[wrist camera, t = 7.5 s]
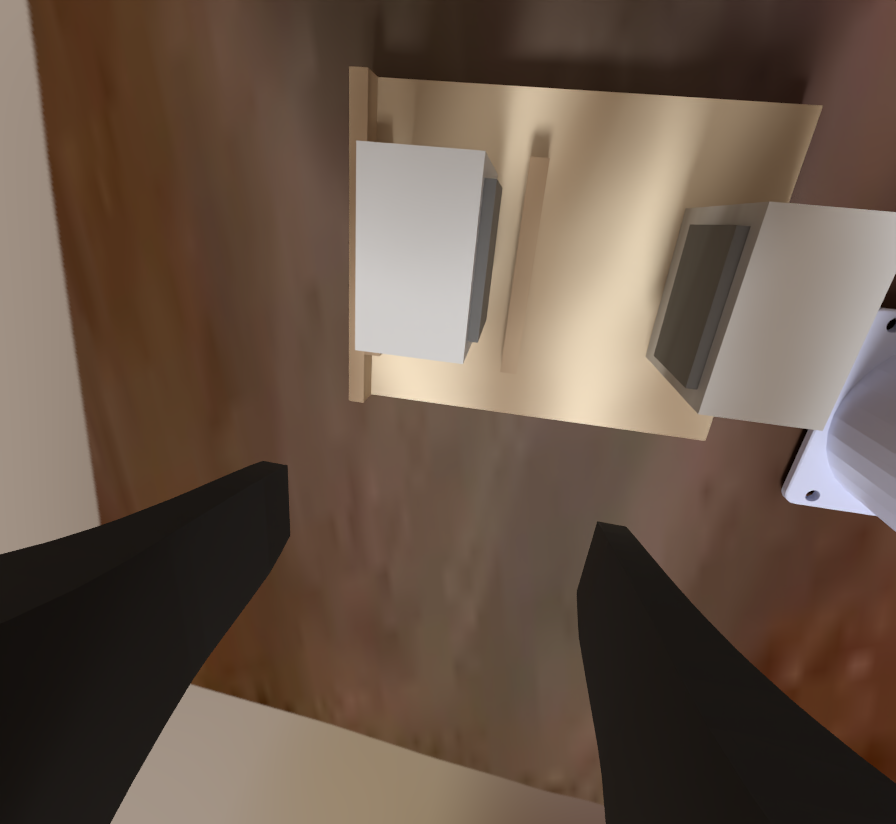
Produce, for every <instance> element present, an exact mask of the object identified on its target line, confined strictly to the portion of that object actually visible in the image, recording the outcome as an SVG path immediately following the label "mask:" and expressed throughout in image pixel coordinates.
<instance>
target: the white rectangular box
mask: <svg viewBox="0 0 896 824" xmlns="http://www.w3.org/2000/svg"><path fill="white" fill-rule="evenodd" d="M497 177H498V174H497V172H496V170H495V168H494V166H493V164H492V162H491V160H490V159H489V157H488V155H487V153H486V151H481V150H469V149H456V148H444V147H431V146H419V145H406V144H394V143H381V142H369V141H356V273H355V350H358V351H366V352H373V353H381V354H389V355H396V356H404V357H412V358H419V359H427V360H435V361H442V362H450V363H458V364H463V363H464V361H465V358H466V356H467V353H468V351H469V349H470V346H471V344H472V342H475V343H478V341H479V339H480V336H481V333H482V330H483V328H484V325H485V322H486V320H487V312H488V303H489V295H490V287H491V279H492V270H493V262H494V254H495V246H496V238H497V229H498V221H499V213H500V205H501V197H502V186H501V185H500V183H499V181H498V180H497Z"/></svg>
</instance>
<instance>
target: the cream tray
mask: <svg viewBox="0 0 896 824" xmlns="http://www.w3.org/2000/svg"><path fill="white" fill-rule="evenodd" d="M822 107H823V106H821V105H805V104H789V103H774V102H758V101H743V100H727V99H712V98H696V97H680V96H665V95H649V94H634V93H618V92H603V91H587V90H571V89H556V88H540V87H525V86H509V85H494V84H478V83H462V82H447V81H431V80H416V79H400V78H385V77H377V76H376V75H375V74H374V73H373V72H372V71H371V70H370V69H369V68H368V67H353V66H349V401H355V402H362V403H364V402H365V400H366V399H367V398H368V397H369V396H370V395H371V394H375V395H382V396H389V397H396V398H403V399H410V400H417V401H425V402H432V403H439V404H446V405H453V406H460V407H467V408H475V409H482V410H489V411H496V412H503V413H510V414H518V415H525V416H532V417H539V418H546V419H553V420H560V421H568V422H575V423H582V424H589V425H596V426H603V427H610V428H618V429H625V430H632V431H639V432H646V433H653V434H661V435H668V436H675V437H682V438H689V439H696V440H703V441H705V439H706V437H707V434H708V431H709V428H710V425H711V422H712V420H713V417H714V416H715V417H722V418H730V419H737V420H745V421H752V422H760V423H767V424H774V425H782V426H789V427H797V428H804V429H812V430H819V431H823V429H824V427H825V425H826V423H827V420H828V418H829V416H830V414H831V412H832V410H833V408H834V405H835V403H836V401H837V399H838V397H839V395H840V392H841V390H842V388H843V386H844V384H845V382H846V379H847V377H848V375H849V373H850V371H851V369H852V367H853V364H854V362H855V360H856V358H857V356H858V354H859V351H860V349H861V347H862V345H863V343H864V341H865V338H866V336H867V334H868V332H869V330H870V328H871V326H872V323H873V321H874V319H875V317H876V315H877V313H878V310H879V308H880V306H881V304H882V302H883V300H884V297H885V295H886V293H887V291H888V289H889V287H890V285H891V282H892V280H893V278H894V276H895V274H896V212H887V211H875V210H863V209H852V208H840V207H828V206H817V205H805V204H793V203H789V201H790V198H791V195H792V192H793V189H794V187H795V184H796V181H797V178H798V175H799V172H800V169H801V167H802V164H803V161H804V158H805V155H806V152H807V150H808V147H809V144H810V141H811V138H812V135H813V133H814V130H815V127H816V124H817V121H818V118H819V115H820V113H821V110H822ZM356 141H369V142H381V143H394V144H406V145H419V146H431V147H444V148H456V149H469V150H481V151H486V153H487V155H488V157H489V159H490V160H491V162H492V164H493V166H494V168H495V170H496V172H497V174H498V177H497V180H498V181H499V183H500V185H501V186H502V197H501V205H500V213H499V221H498V229H497V238H496V246H495V254H494V262H493V270H492V279H491V287H490V295H489V303H488V312H487V320H486V322H485V325H484V328H483V330H482V333H481V336H480V339H479V341H478V343H475V342H472V344H471V346H470V349H469V351H468V353H467V356H466V358H465V361H464V363H463V364H458V363H450V362H442V361H435V360H427V359H419V358H412V357H404V356H396V355H389V354H381V353H373V352H366V351H358V350H355V273H356Z"/></svg>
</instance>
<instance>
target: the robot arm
mask: <svg viewBox="0 0 896 824" xmlns="http://www.w3.org/2000/svg"><path fill="white" fill-rule="evenodd" d="M894 318H895V319H896V309H889V308H879V310H878V313H877V315H876V317H875V319H874V321H873V323H872V326H871V328H870V330H869V332H868V334H867V336H866V338H865V341H864V343H863V345H862V347H861V349H860V351H859V354H858V356H857V358H856V360H855V362H854V364H853V367H852V369H851V371H850V373H849V375H848V377H847V379H846V382H845V384H844V386H843V388H842V390H841V392H840V395H839V397H838V399H837V401H836V403H835V405H834V408H833V410H832V412H831V414H830V416H829V418H828V420H827V423H826V425H825V427H824V429H823V431H819V430H812V429H808V431H807V433H806V435H805V438H804V440H803V442H802V444H801V447H800V449H799V451H798V453H797V455H796V458H795V460H794V462H793V464H792V467H791V469H790V471H789V473H788V476H787V478H786V480H785V482H784V484H783V487H782V491H781V492H782V495H783V496H784V497H785V498H786V499H787V500H788V501H789V502H791V503H794V504H801V505H807V506H814V507H820V508H827V509H834V510H840V511H847V512H854V513H860V514H867V515H874V516H878V517H879V518H880V519H881V520H882V521H884V522H885V523H886V524H887V525H888V526H890V527H891V528H892V529H893V530H894V531H896V323H895V325H894V326H893V327H892V328H891V329H889V330H887V329H886V327H887V324H888V322H889V321H890V320H892V319H894ZM813 490H814V492H813V494H811V495H809V496H806V494H807V493H808V492H810V491H813ZM289 537H290V519H289V494H288V468H287V465H282V464H277V463H271V462H266V461H262V462H259V463H256V464H253V465H250V466H248V467H245V468H243V469H240V470H238V471H236V472H233V473H231V474H229V475H226V476H224V477H222V478H219V479H217V480H215V481H212V482H210V483H208V484H205V485H203V486H201V487H198V488H196V489H194V490H191V491H189V492H187V493H184V494H182V495H179V496H177V497H175V498H172V499H170V500H167V501H165V502H162V503H159V504H157V505H154V506H152V507H149V508H147V509H144V510H141V511H139V512H136V513H134V514H131V515H129V516H126V517H123V518H121V519H118V520H115V521H112V522H109V523H106V524H104V525H101V526H98V527H95V528H92V529H89V530H85V531H82V532H79V533H76V534H73V535H70V536H66V537H63V538H60V539H57V540H53V541H50V542H46V543H43V544H39V545H35V546H31V547H27V548H23V549H20V550H16V551H12V552H8V553H4V554H0V824H110V823H111V821H112V819H113V817H114V815H115V814H116V812H117V810H118V808H119V806H120V804H121V802H122V801H123V799H124V797H125V795H126V793H127V791H128V789H129V787H130V786H131V784H132V782H133V780H134V779H135V777H136V775H137V773H138V772H139V770H140V768H141V766H142V765H143V763H144V761H145V760H146V758H147V756H148V754H149V752H150V751H151V749H152V747H153V746H154V744H155V742H156V740H157V739H158V737H159V735H160V733H161V732H162V730H163V728H164V726H165V725H166V723H167V721H168V720H169V718H170V716H171V715H172V713H173V711H174V710H175V708H176V707H177V705H178V703H179V702H180V700H181V698H182V697H183V695H184V693H185V692H186V690H187V688H188V686H189V685H190V683H191V682H192V680H193V678H194V677H195V676H196V674H197V673H198V671H199V670H200V668H201V667H202V665H203V664H204V662H205V661H206V659H207V658H208V657H209V655H210V654H211V652H212V651H213V650H214V648H215V647H216V646H217V644H218V643H219V642H220V640H221V639H222V638H223V636H224V635H225V633H226V632H227V631H228V629H229V628H230V627H231V625H232V624H233V623H234V621H235V620H236V619H237V617H238V616H239V614H240V613H241V612H242V610H243V609H244V608H245V606H246V605H247V604H248V602H249V601H250V600H251V598H252V597H253V595H254V594H255V593H256V591H257V590H258V588H259V587H260V586H261V584H262V583H263V582H264V580H265V579H266V577H267V576H268V574H269V573H270V571H271V570H272V568H273V566H274V564H275V563H276V561H277V559H278V557H279V556H280V554H281V552H282V550H283V548H284V546H285V544H286V542H287V540H288V538H289ZM577 612H578V630H579V640H580V647H581V653H582V658H583V664H584V670H585V676H586V682H587V688H588V693H589V699H590V705H591V710H592V716H593V722H594V727H595V733H596V739H597V745H598V751H599V758H600V766H601V773H602V784H603V796H604V807H605V819H606V824H896V783H894V782H893V781H892V780H890V779H889V778H888V777H886V776H885V775H884V774H883V773H881V772H880V771H879V770H877V769H876V768H875V767H873V766H872V765H871V764H869V763H868V762H867V761H866V760H864V759H863V758H862V757H860V756H859V755H858V754H857V753H855V752H854V751H853V750H852V749H850V748H849V747H848V746H847V745H846V744H844V743H843V742H842V741H841V740H839V739H838V738H837V737H836V736H834V735H833V734H832V733H831V732H830V731H828V730H827V729H826V728H825V727H823V726H822V725H821V724H820V723H818V722H817V721H816V720H815V719H813V718H812V717H811V716H810V715H809V714H808V713H806V712H805V711H804V710H803V709H802V708H800V707H799V706H798V705H797V704H796V703H795V702H793V701H792V700H791V699H790V698H789V697H788V696H787V695H785V694H784V693H783V692H782V691H781V690H780V689H779V688H778V687H777V686H776V685H774V684H773V683H772V682H771V681H770V680H769V679H768V678H767V677H766V676H765V675H763V674H762V673H761V672H760V671H759V670H758V669H757V668H756V667H755V666H753V665H752V664H751V663H750V662H749V661H748V660H747V659H746V658H745V657H744V656H743V655H742V654H741V653H740V652H739V651H738V650H737V649H736V648H735V647H734V646H733V645H732V644H731V643H730V642H729V641H728V640H727V639H726V638H725V637H724V636H723V635H722V634H721V633H720V632H719V631H718V630H717V629H716V628H715V627H714V626H713V625H712V624H711V623H710V622H709V621H708V620H707V619H706V618H705V617H704V616H703V615H702V613H701V612H700V611H699V610H698V609H697V608H696V607H695V606H694V605H693V604H692V603H691V602H690V600H689V599H688V598H687V597H686V596H685V595H684V594H683V593H682V591H681V590H680V589H679V588H678V587H677V586H676V585H675V584H674V582H673V581H672V580H671V579H670V578H669V577H668V575H667V574H666V573H665V572H664V571H663V570H662V568H661V567H660V566H659V565H658V564H657V563H656V561H655V560H654V559H653V558H652V557H651V555H650V554H649V553H648V552H647V551H646V549H645V548H644V547H643V546H642V545H641V543H640V542H639V541H638V540H637V539H636V538H635V536H634V535H633V534H632V533H631V532H630V531H629V530H628V528H627V527H625V526H619V525H614V524H608V523H603V522H597V525H596V528H595V531H594V535H593V538H592V542H591V545H590V548H589V552H588V555H587V559H586V562H585V565H584V569H583V572H582V576H581V579H580V582H579V586H578V589H577Z"/></svg>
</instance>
